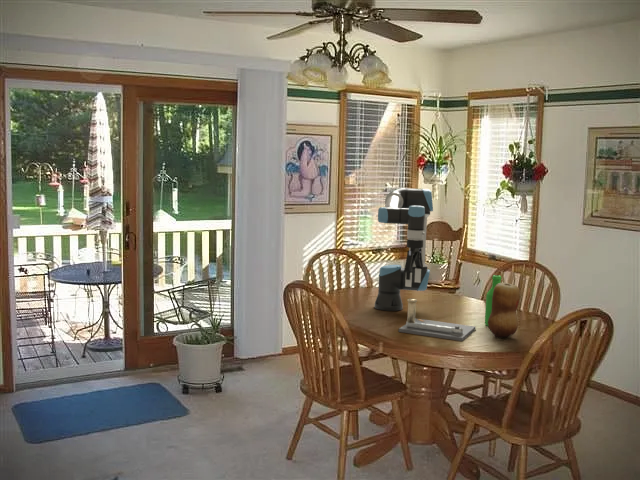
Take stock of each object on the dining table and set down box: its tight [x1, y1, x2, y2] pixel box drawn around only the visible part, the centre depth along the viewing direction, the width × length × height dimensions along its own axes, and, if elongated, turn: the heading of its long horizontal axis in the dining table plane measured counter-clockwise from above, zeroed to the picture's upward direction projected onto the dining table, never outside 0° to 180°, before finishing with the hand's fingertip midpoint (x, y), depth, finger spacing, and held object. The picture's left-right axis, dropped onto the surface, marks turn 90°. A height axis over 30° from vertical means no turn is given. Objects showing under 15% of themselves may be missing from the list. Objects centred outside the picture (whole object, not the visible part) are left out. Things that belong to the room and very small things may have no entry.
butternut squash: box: [487, 282, 521, 339], centre depth 313 cm, size 14×13×25 cm
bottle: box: [484, 274, 502, 327], centre depth 334 cm, size 9×9×25 cm
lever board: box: [398, 317, 476, 342], centre depth 322 cm, size 30×24×2 cm
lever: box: [405, 298, 463, 334], centre depth 315 cm, size 27×5×13 cm, turn 64°
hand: (412, 284), depth 318 cm, fingers open, 13 cm apart
